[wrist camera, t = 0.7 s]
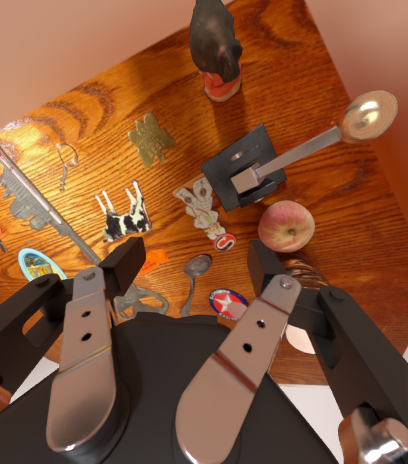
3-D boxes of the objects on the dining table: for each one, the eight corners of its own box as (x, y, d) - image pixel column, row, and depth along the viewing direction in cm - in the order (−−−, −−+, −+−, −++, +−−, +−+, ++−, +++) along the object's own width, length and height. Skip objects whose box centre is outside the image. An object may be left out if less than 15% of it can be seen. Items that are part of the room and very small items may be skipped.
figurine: (249, 66, 24) (263, -12, 13) (234, 110, 27) (236, 74, 16) (210, 52, 24) (192, -37, 13) (199, 97, 27) (176, 51, 16)
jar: (251, 283, 40) (261, 347, 26) (269, 242, 35) (294, 294, 21) (299, 297, 39) (335, 369, 25) (324, 257, 34) (386, 321, 20)
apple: (250, 233, 35) (255, 252, 27) (264, 192, 31) (274, 201, 24) (290, 243, 34) (307, 265, 27) (310, 202, 30) (335, 215, 23)
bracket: (261, 125, 27) (286, 92, 14) (284, 178, 29) (324, 191, 17) (201, 166, 31) (180, 168, 18) (226, 210, 33) (223, 239, 21)
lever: (387, 77, 11) (396, 75, 9) (397, 123, 12) (407, 130, 10) (237, 167, 21) (226, 175, 19) (249, 189, 22) (239, 199, 20)
